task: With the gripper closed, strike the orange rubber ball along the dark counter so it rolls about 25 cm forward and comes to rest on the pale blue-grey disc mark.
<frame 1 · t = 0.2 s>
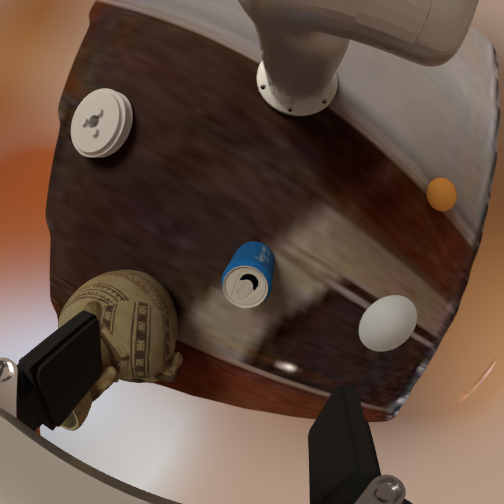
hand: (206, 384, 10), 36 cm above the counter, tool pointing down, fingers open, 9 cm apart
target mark: (388, 324, 47), on the counter
ceramic vessel: (147, 304, 51), on the counter
beverage can: (254, 259, 47), on the counter
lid: (107, 124, 43), on the counter
ball: (441, 194, 37), on the counter
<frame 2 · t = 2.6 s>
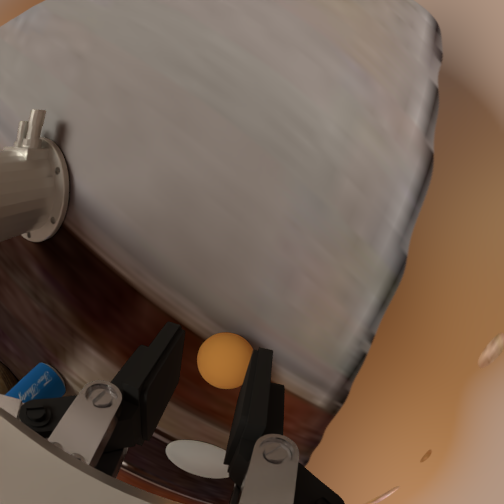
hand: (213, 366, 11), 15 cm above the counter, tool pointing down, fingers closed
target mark: (202, 460, 35), on the counter
ceramic vessel: (11, 382, 39), on the counter
beverage can: (54, 375, 34), on the counter
ball: (226, 360, 25), on the counter
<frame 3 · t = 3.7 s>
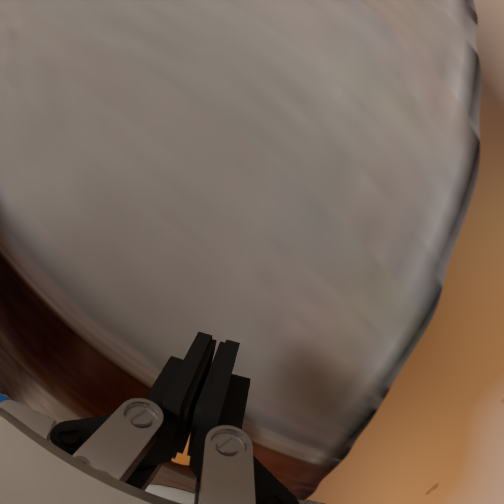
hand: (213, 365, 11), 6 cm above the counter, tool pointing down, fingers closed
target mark: (180, 502, 26), on the counter
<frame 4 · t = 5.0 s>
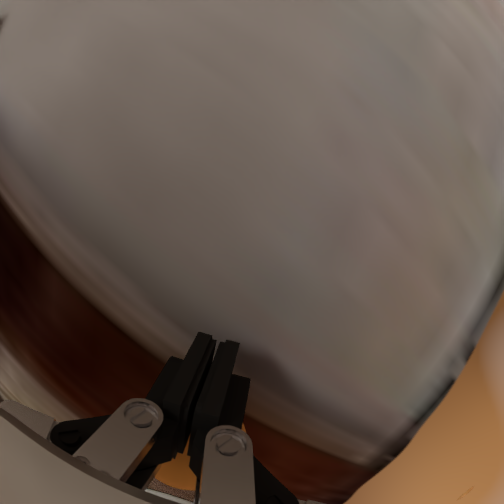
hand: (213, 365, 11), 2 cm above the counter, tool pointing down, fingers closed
ball: (188, 438, 11), on the counter
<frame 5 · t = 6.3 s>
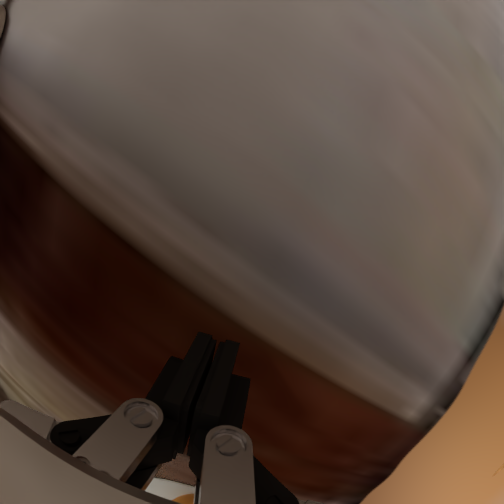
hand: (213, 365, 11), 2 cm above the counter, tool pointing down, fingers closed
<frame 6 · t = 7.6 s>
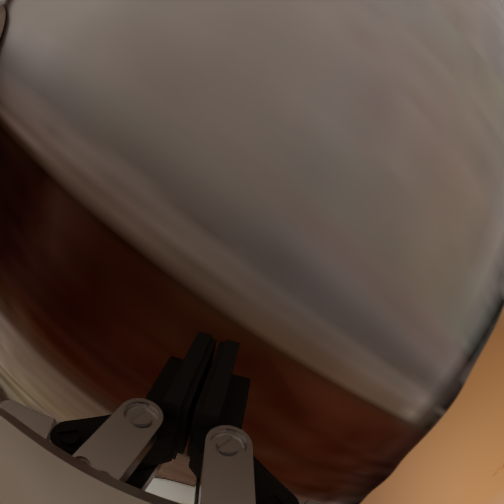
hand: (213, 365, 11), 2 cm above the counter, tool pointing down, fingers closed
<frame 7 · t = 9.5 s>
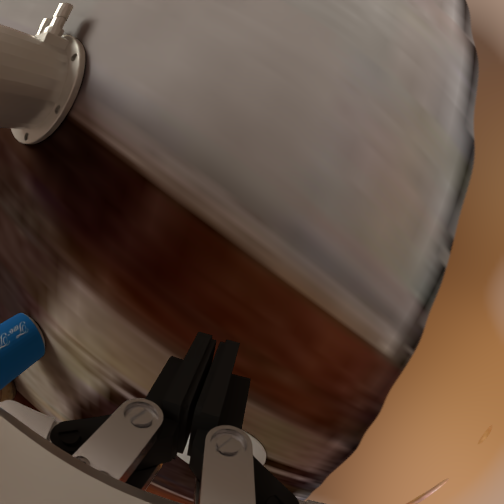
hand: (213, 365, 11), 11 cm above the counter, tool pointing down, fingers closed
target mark: (215, 450, 27), on the counter
beverage can: (34, 332, 28), on the counter
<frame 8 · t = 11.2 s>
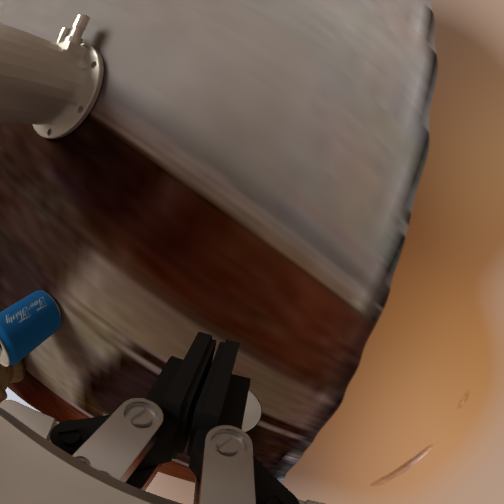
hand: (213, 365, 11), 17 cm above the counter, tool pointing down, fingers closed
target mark: (216, 407, 33), on the counter
ceramic vessel: (3, 335, 37), on the counter
beverage can: (50, 308, 33), on the counter
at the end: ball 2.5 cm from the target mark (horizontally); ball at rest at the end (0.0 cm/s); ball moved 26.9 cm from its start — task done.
